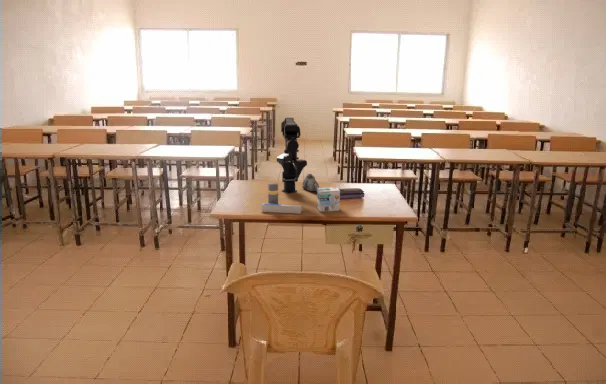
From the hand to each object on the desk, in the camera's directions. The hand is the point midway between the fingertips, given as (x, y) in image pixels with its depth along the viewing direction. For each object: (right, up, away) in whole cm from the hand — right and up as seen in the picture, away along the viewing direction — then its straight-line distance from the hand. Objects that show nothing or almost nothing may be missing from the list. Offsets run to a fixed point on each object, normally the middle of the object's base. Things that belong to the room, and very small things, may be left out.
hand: (291, 176), depth 244 cm
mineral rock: (+11, -8, +22) cm, 26 cm away
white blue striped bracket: (-5, -18, -15) cm, 23 cm away
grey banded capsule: (-9, -16, -10) cm, 21 cm away
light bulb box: (+19, -17, -11) cm, 28 cm away
